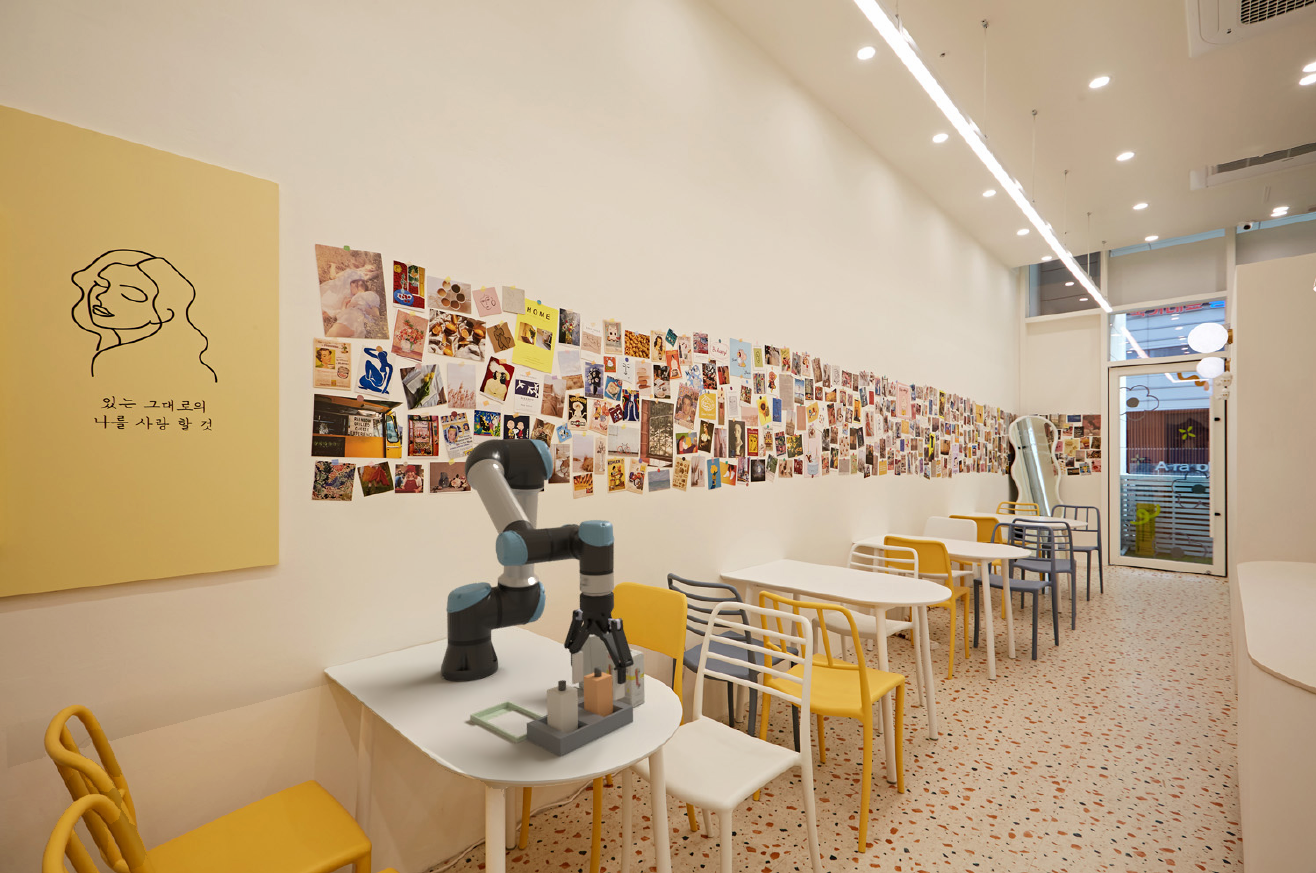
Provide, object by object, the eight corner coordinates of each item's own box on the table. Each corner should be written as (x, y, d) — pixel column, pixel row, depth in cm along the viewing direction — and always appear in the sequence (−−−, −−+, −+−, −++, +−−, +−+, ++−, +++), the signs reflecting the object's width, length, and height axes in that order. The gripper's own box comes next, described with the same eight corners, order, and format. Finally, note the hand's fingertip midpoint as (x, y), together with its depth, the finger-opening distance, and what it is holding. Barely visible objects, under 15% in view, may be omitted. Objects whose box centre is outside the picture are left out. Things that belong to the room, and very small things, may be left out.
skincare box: (613, 692, 150) (612, 632, 150) (591, 698, 146) (590, 636, 147) (597, 682, 157) (596, 624, 157) (576, 687, 153) (575, 628, 154)
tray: (470, 721, 135) (470, 714, 135) (508, 707, 142) (508, 700, 142) (517, 745, 123) (517, 738, 123) (556, 728, 130) (556, 721, 130)
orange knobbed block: (584, 723, 131) (583, 669, 131) (599, 716, 134) (598, 663, 135) (598, 728, 128) (597, 673, 129) (613, 721, 131) (612, 668, 132)
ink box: (605, 700, 145) (604, 650, 146) (620, 693, 149) (619, 645, 149) (631, 709, 140) (630, 657, 140) (645, 702, 143) (644, 652, 144)
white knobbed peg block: (547, 739, 124) (546, 682, 124) (564, 731, 127) (563, 676, 127) (561, 746, 121) (560, 687, 121) (578, 738, 124) (577, 681, 124)
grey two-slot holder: (526, 743, 124) (526, 723, 124) (599, 711, 139) (598, 693, 139) (560, 760, 116) (560, 739, 117) (633, 724, 131) (632, 706, 131)
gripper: (548, 586, 138) (548, 680, 137) (624, 604, 121) (625, 711, 121) (573, 580, 143) (574, 671, 143) (649, 597, 127) (650, 699, 126)
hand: (597, 689), depth 132 cm, fingers open, 13 cm apart
